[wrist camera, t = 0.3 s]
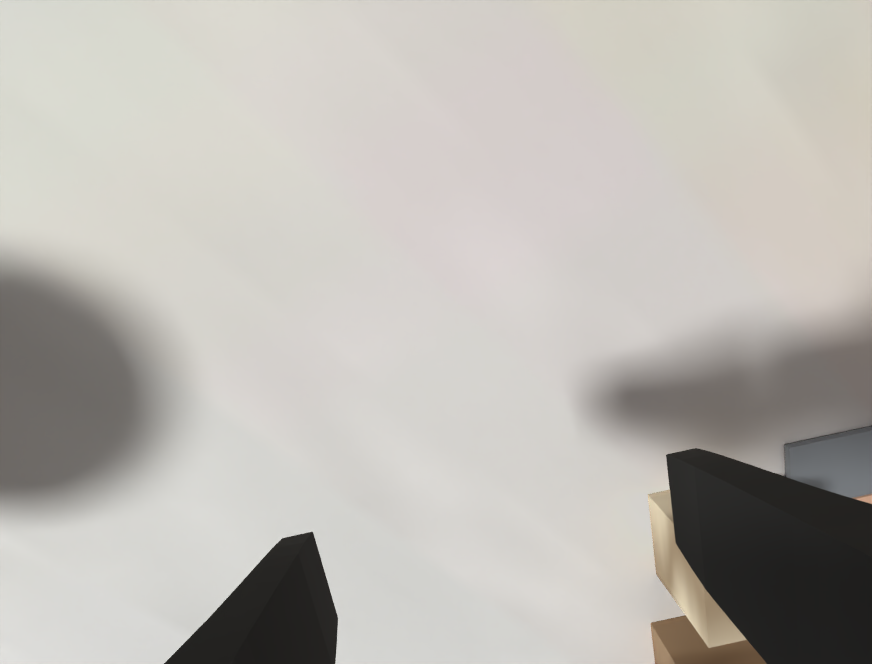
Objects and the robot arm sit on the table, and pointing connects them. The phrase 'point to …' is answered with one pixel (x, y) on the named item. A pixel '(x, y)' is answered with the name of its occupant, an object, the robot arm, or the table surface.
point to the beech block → (686, 578)
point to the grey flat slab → (834, 463)
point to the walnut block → (696, 646)
